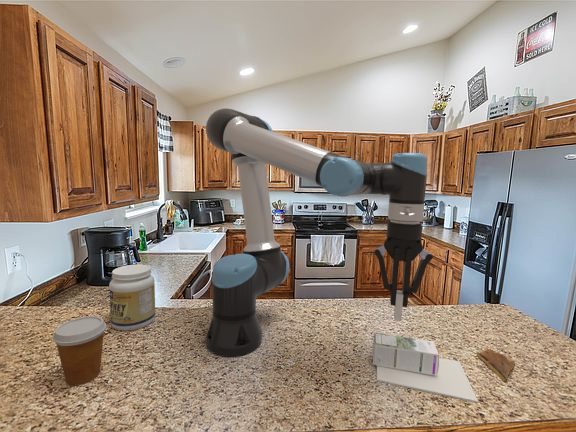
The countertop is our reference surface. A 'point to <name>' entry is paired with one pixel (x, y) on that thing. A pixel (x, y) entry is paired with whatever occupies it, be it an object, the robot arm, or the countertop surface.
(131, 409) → the countertop surface
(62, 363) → the disposable coffee cup
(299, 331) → the countertop surface
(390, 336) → the syrup box
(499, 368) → the shard
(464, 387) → the mat
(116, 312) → the supplement tub
